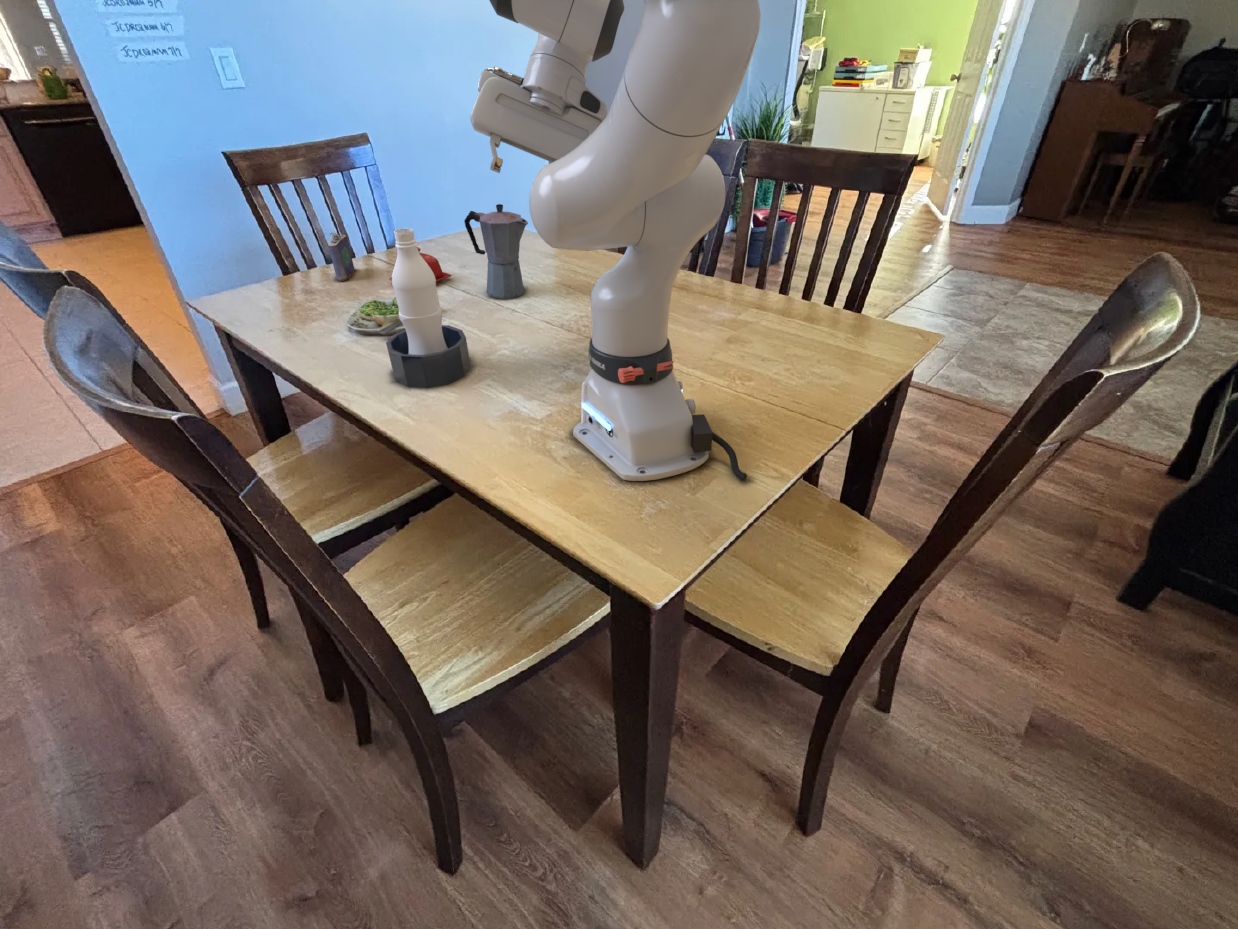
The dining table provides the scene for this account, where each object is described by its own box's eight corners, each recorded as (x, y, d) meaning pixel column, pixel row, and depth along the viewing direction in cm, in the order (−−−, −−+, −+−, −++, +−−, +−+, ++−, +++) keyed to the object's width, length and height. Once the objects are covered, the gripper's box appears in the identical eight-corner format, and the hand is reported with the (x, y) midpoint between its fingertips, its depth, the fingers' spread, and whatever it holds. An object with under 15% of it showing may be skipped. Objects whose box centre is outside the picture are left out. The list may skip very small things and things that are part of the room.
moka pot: (528, 302, 143) (519, 210, 131) (465, 298, 145) (451, 207, 134) (541, 287, 150) (533, 199, 139) (481, 284, 153) (468, 197, 141)
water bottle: (431, 382, 111) (401, 239, 97) (404, 373, 114) (370, 232, 100) (460, 366, 116) (435, 228, 102) (432, 358, 119) (405, 222, 105)
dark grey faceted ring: (476, 378, 112) (471, 348, 109) (398, 393, 108) (391, 362, 105) (462, 349, 123) (457, 320, 119) (390, 361, 118) (383, 332, 115)
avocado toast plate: (424, 340, 126) (419, 318, 123) (335, 342, 126) (328, 321, 123) (442, 305, 142) (439, 285, 139) (363, 307, 141) (358, 287, 139)
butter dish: (424, 271, 161) (417, 237, 156) (454, 279, 156) (448, 245, 151) (387, 284, 154) (379, 249, 149) (417, 293, 148) (410, 257, 143)
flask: (345, 281, 155) (333, 237, 149) (334, 281, 155) (321, 237, 149) (357, 269, 163) (346, 227, 157) (345, 270, 163) (334, 227, 157)
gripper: (483, 51, 89) (456, 149, 91) (617, 111, 93) (588, 203, 95) (484, 69, 95) (459, 161, 97) (610, 124, 100) (583, 210, 101)
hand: (524, 182), depth 96 cm, fingers open, 8 cm apart
